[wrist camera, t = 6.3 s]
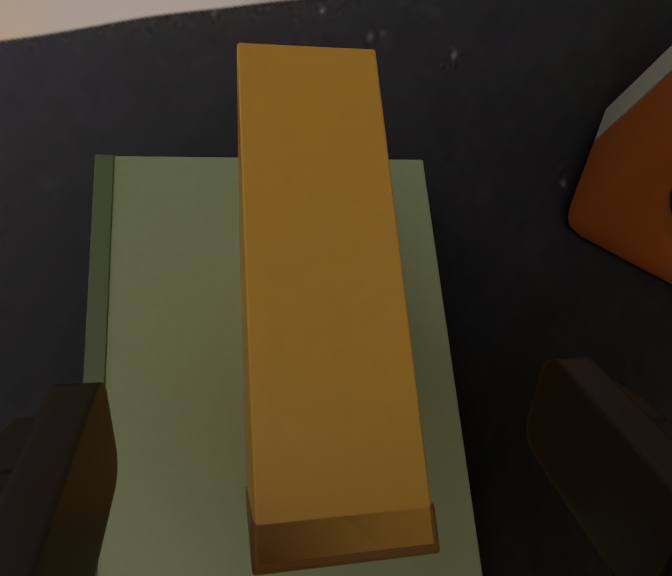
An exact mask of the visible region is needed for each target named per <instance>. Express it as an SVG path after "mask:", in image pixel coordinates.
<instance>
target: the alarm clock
mask: <svg viewBox="0 0 672 576" xmlns="http://www.w3.org/2000/svg"><path fill="white" fill-rule="evenodd" d="M568 221H569V225H570V226H571V227H572V228H573V229H574V230H575V231H576V232H577V233H578V234H579V235H580V236H581V237H582V238H584V239H586V240H588V241H590V242H592V243H594V244H596V245H598V246H600V247H601V248H603V249H605V250H607V251H609V252H611V253H613V254H615V255H617V256H619V257H621V258H622V259H624V260H626V261H628V262H630V263H632V264H634V265H636V266H638V267H640V268H641V269H643V270H645V271H647V272H649V273H651V274H653V275H655V276H657V277H659V278H660V279H662V280H664V281H666V282H668V283H670V284H672V45H671V46H670V47H669V48H668V49H667V50H666V51H665V52H664V53H663V54H662V55H661V56H660V57H659V58H658V59H657V60H656V61H655V62H654V63H653V64H652V65H651V66H650V67H649V68H648V69H647V70H646V71H645V72H644V73H643V74H642V75H641V76H640V77H639V78H638V79H637V80H636V81H635V82H634V83H633V84H631V85H630V86H629V87H628V88H627V89H626V90H625V91H624V92H623V93H622V94H621V95H620V96H619V97H618V98H617V99H616V100H615V101H614V102H613V103H612V104H611V105H610V106H609V107H608V108H607V109H606V111H605V113H604V116H603V119H602V121H601V124H600V127H599V130H598V132H597V135H596V138H595V141H594V143H593V146H592V149H591V151H590V154H589V157H588V159H587V162H586V165H585V167H584V170H583V173H582V176H581V178H580V181H579V184H578V186H577V189H576V192H575V194H574V197H573V200H572V203H571V205H570V210H569V214H568Z"/></svg>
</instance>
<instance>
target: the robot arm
mask: <svg viewBox="0 0 672 576" xmlns="http://www.w3.org/2000/svg"><path fill="white" fill-rule="evenodd" d="M526 435H527V440H528V444H529V447H530V449H531V451H532V453H533V455H534V456H535V458H536V459H537V461H538V462H539V464H540V465H541V467H542V468H543V470H544V471H545V473H546V474H547V476H548V477H549V479H550V480H551V482H552V483H553V485H554V487H555V488H556V490H557V491H558V493H559V494H560V496H561V497H562V499H563V500H564V502H565V503H566V505H567V506H568V508H569V509H570V511H571V512H572V514H573V515H574V517H575V518H576V520H577V521H578V523H579V524H580V526H581V527H582V529H583V530H584V532H585V533H586V535H587V536H588V538H589V539H590V541H591V542H592V544H593V545H594V547H595V548H596V550H597V551H598V553H599V554H600V556H601V557H602V559H603V560H604V562H605V563H606V565H607V566H608V568H609V569H610V571H611V572H612V574H613V575H614V576H672V424H671V423H670V422H666V421H665V417H664V416H663V415H662V414H661V413H660V412H659V411H658V410H657V409H656V408H654V407H653V406H652V405H651V404H650V403H649V402H648V401H647V400H646V399H645V398H644V397H642V396H641V395H639V394H637V393H636V392H634V391H632V390H631V389H629V388H627V387H626V386H624V385H622V384H621V383H619V382H617V381H614V380H613V379H612V378H611V377H610V376H609V375H608V374H607V373H606V372H605V371H604V370H603V369H602V368H601V367H600V366H599V365H598V364H597V363H596V362H595V361H594V360H593V359H591V358H589V357H570V358H552V359H548V360H546V361H545V362H544V364H543V365H542V368H541V371H540V374H539V378H538V382H537V385H536V389H535V392H534V396H533V399H532V403H531V407H530V410H529V414H528V417H527V422H526ZM117 470H118V459H117V448H116V442H115V437H114V431H113V425H112V419H111V413H110V407H109V402H108V396H107V391H106V387H105V385H104V383H102V382H95V383H77V384H58V385H53V386H52V387H51V389H50V391H49V393H48V395H47V397H46V399H45V401H44V403H43V405H42V408H41V410H40V412H39V414H38V416H37V417H33V418H18V419H16V420H14V421H13V422H12V423H11V424H10V425H9V426H8V427H7V428H6V429H4V430H3V431H2V432H1V433H0V576H95V573H96V569H97V565H98V560H99V556H100V552H101V548H102V543H103V539H104V535H105V531H106V526H107V522H108V518H109V514H110V509H111V505H112V501H113V497H114V492H115V488H116V482H117Z"/></svg>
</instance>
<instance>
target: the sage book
mask: <svg viewBox="0 0 672 576" xmlns="http://www.w3.org/2000/svg"><path fill="white" fill-rule="evenodd" d="M389 166H390V174H391V182H392V190H393V198H394V206H395V214H396V222H397V230H398V238H399V247H400V255H401V263H402V271H403V279H404V287H405V295H406V303H407V311H408V319H409V327H410V335H411V343H412V351H413V360H414V368H415V376H416V384H417V392H418V400H419V408H420V416H421V424H422V432H423V440H424V448H425V456H426V464H427V472H428V481H429V489H430V497H431V503H433V504H434V507H435V515H436V523H437V531H438V539H439V547H440V550H439V552H438V553H436V554H428V555H419V556H411V557H403V558H395V559H387V560H379V561H371V562H363V563H354V564H346V565H338V566H330V567H322V568H314V569H306V570H298V571H289V572H281V573H273V574H265V575H257V576H482V569H481V562H480V555H479V548H478V541H477V534H476V527H475V520H474V513H473V506H472V499H471V492H470V486H469V479H468V472H467V465H466V458H465V451H464V444H463V437H462V430H461V423H460V416H459V409H458V402H457V395H456V388H455V382H454V375H453V368H452V361H451V354H450V347H449V340H448V333H447V326H446V319H445V312H444V305H443V298H442V291H441V284H440V278H439V271H438V264H437V257H436V250H435V243H434V236H433V229H432V222H431V215H430V208H429V201H428V194H427V187H426V180H425V173H424V167H423V161H422V160H389ZM95 382H102V383H104V385H105V387H106V391H107V396H108V402H109V407H110V413H111V419H112V425H113V431H114V437H115V442H116V448H117V459H118V470H117V482H116V488H115V492H114V497H113V501H112V505H111V509H110V514H109V518H108V522H107V526H106V531H105V535H104V539H103V543H102V548H101V552H100V556H99V560H98V565H97V569H96V573H95V576H256V575H253V573H252V568H251V556H250V545H249V533H248V521H247V510H246V487H247V473H246V442H245V411H244V381H243V350H242V319H241V288H240V253H239V179H238V158H221V157H142V156H114V155H95V166H94V185H93V204H92V223H91V242H90V261H89V280H88V299H87V318H86V337H85V356H84V375H83V383H95Z"/></svg>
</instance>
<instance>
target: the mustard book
mask: <svg viewBox="0 0 672 576" xmlns="http://www.w3.org/2000/svg"><path fill="white" fill-rule="evenodd" d="M237 105H238V179H239V253H240V288H241V319H242V350H243V381H244V411H245V442H246V473H247V487H246V510H247V521H248V533H249V545H250V556H251V568H252V573H253V575H256V576H257V575H265V574H273V573H281V572H289V571H298V570H306V569H314V568H322V567H330V566H338V565H346V564H354V563H363V562H371V561H379V560H387V559H395V558H403V557H411V556H419V555H428V554H436V553H438V552H439V550H440V547H439V539H438V531H437V523H436V515H435V507H434V504H433V503H431V497H430V489H429V481H428V472H427V464H426V456H425V448H424V440H423V432H422V424H421V416H420V408H419V400H418V392H417V384H416V376H415V368H414V360H413V351H412V343H411V335H410V327H409V319H408V311H407V303H406V295H405V287H404V279H403V271H402V263H401V255H400V247H399V238H398V230H397V222H396V214H395V206H394V198H393V190H392V182H391V174H390V166H389V158H388V150H387V142H386V134H385V125H384V117H383V109H382V101H381V93H380V85H379V77H378V69H377V61H376V53H375V50H370V49H350V48H330V47H310V46H290V45H269V44H249V43H238V45H237Z"/></svg>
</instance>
